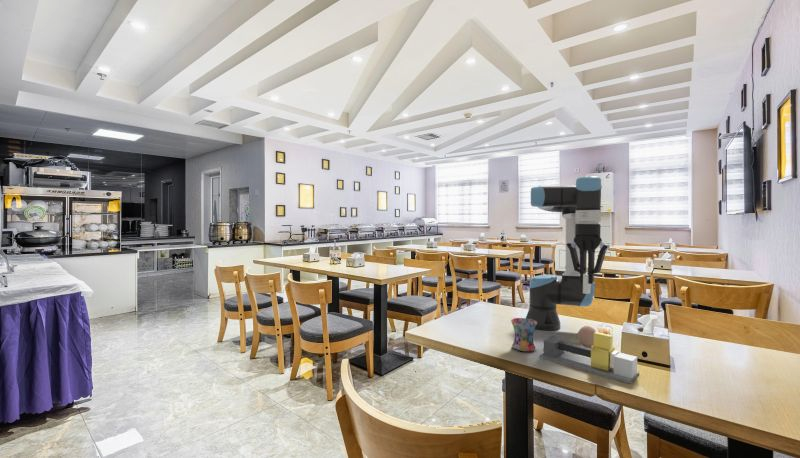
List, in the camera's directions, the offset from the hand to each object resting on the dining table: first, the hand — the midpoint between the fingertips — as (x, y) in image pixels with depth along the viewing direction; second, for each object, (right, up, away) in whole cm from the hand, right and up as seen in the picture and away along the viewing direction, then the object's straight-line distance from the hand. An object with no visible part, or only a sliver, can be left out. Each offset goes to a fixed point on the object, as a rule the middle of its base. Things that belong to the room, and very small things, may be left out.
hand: (586, 292), depth 121 cm
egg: (+9, -24, +16) cm, 31 cm away
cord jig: (0, -24, 0) cm, 24 cm away
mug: (-15, -24, +16) cm, 33 cm away
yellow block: (+3, -23, -4) cm, 24 cm away
